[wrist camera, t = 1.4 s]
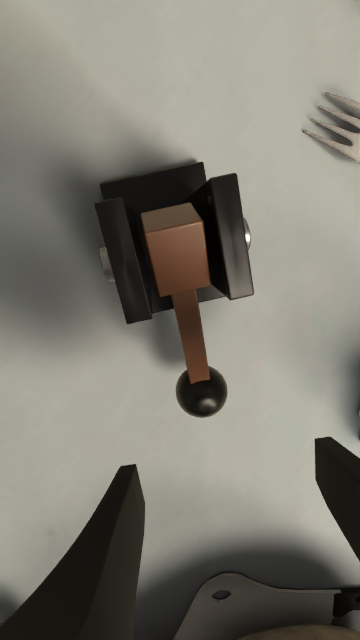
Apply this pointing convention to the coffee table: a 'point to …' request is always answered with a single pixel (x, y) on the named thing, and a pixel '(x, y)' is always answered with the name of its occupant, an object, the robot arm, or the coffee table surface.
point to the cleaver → (259, 608)
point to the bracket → (130, 246)
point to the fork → (356, 150)
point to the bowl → (305, 633)
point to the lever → (185, 299)
